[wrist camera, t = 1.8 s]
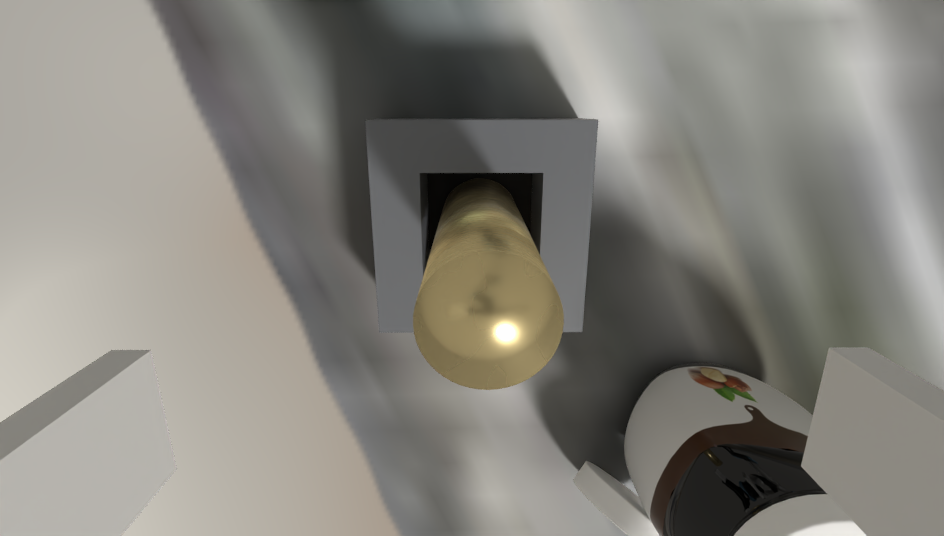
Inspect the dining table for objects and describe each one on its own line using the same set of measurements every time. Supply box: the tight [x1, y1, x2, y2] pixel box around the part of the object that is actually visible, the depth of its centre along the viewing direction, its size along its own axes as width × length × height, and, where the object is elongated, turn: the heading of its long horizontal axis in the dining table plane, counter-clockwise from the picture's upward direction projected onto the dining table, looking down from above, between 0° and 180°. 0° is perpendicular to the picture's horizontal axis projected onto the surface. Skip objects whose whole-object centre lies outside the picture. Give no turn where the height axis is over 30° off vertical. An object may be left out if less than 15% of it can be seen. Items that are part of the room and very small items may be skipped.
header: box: [365, 118, 598, 332], centre depth 24 cm, size 10×10×4 cm
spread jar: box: [573, 363, 867, 536], centre depth 25 cm, size 12×11×12 cm
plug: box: [413, 178, 564, 390], centre depth 20 cm, size 4×4×14 cm
